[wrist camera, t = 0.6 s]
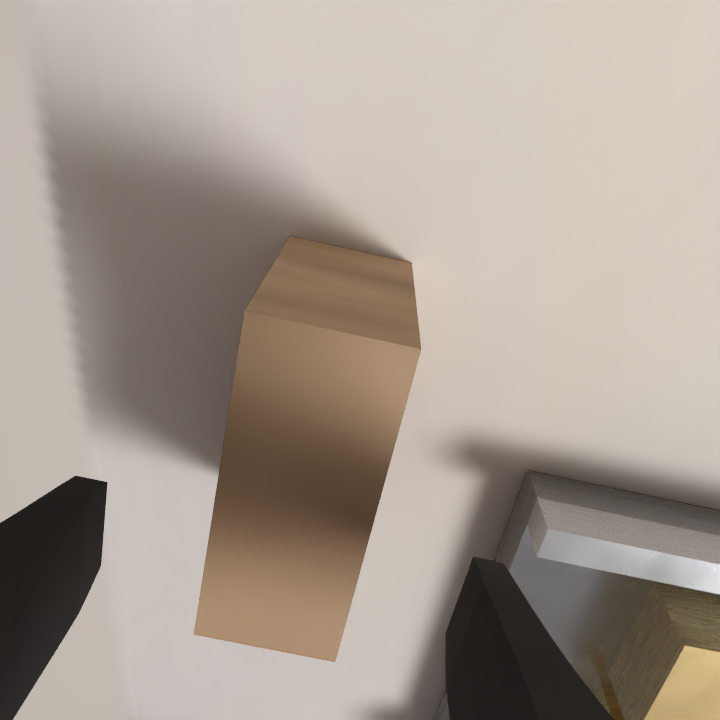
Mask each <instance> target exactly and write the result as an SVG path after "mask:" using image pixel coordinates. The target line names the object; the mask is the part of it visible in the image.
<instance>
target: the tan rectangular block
mask: <svg viewBox="0 0 720 720" xmlns="http://www.w3.org/2000/svg"><path fill="white" fill-rule="evenodd" d="M420 351H421V344H420V335H419V326H418V317H417V307H416V298H415V289H414V280H413V271H412V263H410V262H405V261H401V260H396V259H392V258H387V257H383V256H379V255H374V254H370V253H365V252H361V251H356V250H352V249H347V248H343V247H338V246H334V245H329V244H325V243H320V242H316V241H311V240H307V239H303V238H298V237H294V236H290V237H289V239H288V240H287V242H286V243H285V245H284V247H283V248H282V250H281V252H280V253H279V255H278V257H277V258H276V260H275V261H274V263H273V265H272V266H271V268H270V270H269V271H268V273H267V275H266V276H265V278H264V280H263V281H262V283H261V284H260V286H259V288H258V289H257V291H256V293H255V294H254V296H253V298H252V299H251V301H250V302H249V304H248V306H247V307H246V309H245V311H244V316H243V323H242V329H241V336H240V342H239V348H238V355H237V361H236V368H235V374H234V381H233V387H232V393H231V400H230V406H229V413H228V419H227V425H226V432H225V438H224V445H223V451H222V457H221V464H220V470H219V477H218V483H217V489H216V496H215V502H214V509H213V515H212V521H211V528H210V534H209V541H208V547H207V553H206V560H205V566H204V573H203V579H202V585H201V592H200V598H199V605H198V611H197V617H196V624H195V630H194V635H199V636H204V637H209V638H214V639H219V640H225V641H230V642H235V643H240V644H245V645H250V646H255V647H261V648H266V649H271V650H276V651H281V652H286V653H291V654H296V655H302V656H307V657H312V658H317V659H322V660H327V661H332V662H335V660H336V657H337V653H338V649H339V646H340V642H341V639H342V635H343V631H344V628H345V624H346V620H347V617H348V613H349V609H350V606H351V602H352V599H353V595H354V591H355V588H356V584H357V580H358V577H359V573H360V570H361V566H362V562H363V559H364V555H365V551H366V548H367V544H368V540H369V537H370V533H371V530H372V526H373V522H374V519H375V515H376V511H377V508H378V504H379V500H380V497H381V493H382V490H383V486H384V482H385V479H386V475H387V471H388V468H389V464H390V460H391V457H392V453H393V450H394V446H395V442H396V439H397V435H398V431H399V428H400V424H401V420H402V417H403V413H404V410H405V406H406V402H407V399H408V395H409V391H410V388H411V384H412V380H413V377H414V373H415V370H416V366H417V362H418V359H419V355H420Z"/></svg>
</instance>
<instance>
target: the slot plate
mask: <svg viewBox="0 0 720 720" xmlns="http://www.w3.org/2000/svg"><path fill="white" fill-rule="evenodd" d="M494 561H496V562H501V563H504V565H505V566H506V568H507V569H508V571H509V572H510V574H511V575H512V577H513V579H514V580H515V582H516V583H517V585H518V587H519V588H520V590H521V591H522V593H523V594H524V596H525V598H526V599H527V601H528V602H529V604H530V605H531V607H532V609H533V610H534V612H535V613H536V615H537V616H538V618H539V619H540V621H541V622H542V624H543V625H544V627H545V628H546V630H547V631H548V633H549V634H550V636H551V637H552V639H553V640H554V642H555V643H556V645H557V646H558V647H559V649H560V650H561V652H562V653H563V654H564V656H565V657H566V659H567V660H568V661H569V663H570V664H571V665H572V667H573V668H574V670H575V671H576V672H577V673H578V675H579V676H580V677H581V679H582V680H583V681H584V683H585V684H586V685H587V686H588V688H589V689H590V690H591V692H592V693H593V694H594V696H595V697H596V696H597V694H598V692H599V690H600V688H601V686H604V687H609V688H613V687H612V684H611V681H610V678H609V676H608V672H609V670H610V668H611V666H612V664H613V662H614V660H615V658H616V656H617V654H618V652H619V650H620V648H621V646H622V644H623V642H624V640H625V638H626V636H627V634H628V632H629V630H630V628H631V626H632V624H633V622H634V620H635V618H636V616H637V614H638V612H639V610H640V608H641V606H642V604H643V603H644V601H645V599H646V597H647V595H648V593H649V591H650V589H651V587H652V585H653V583H654V584H659V585H664V586H669V587H674V588H678V589H683V590H688V591H693V592H698V593H703V594H708V595H713V596H718V597H720V511H719V510H714V509H709V508H704V507H700V506H695V505H690V504H685V503H681V502H676V501H671V500H666V499H662V498H657V497H652V496H647V495H643V494H638V493H633V492H628V491H624V490H619V489H614V488H609V487H605V486H600V485H595V484H590V483H586V482H581V481H576V480H571V479H567V478H562V477H557V476H552V475H548V474H543V473H538V472H533V471H529V470H528V472H527V474H526V477H525V480H524V482H523V485H522V488H521V490H520V493H519V496H518V498H517V501H516V504H515V506H514V509H513V512H512V514H511V517H510V520H509V522H508V525H507V528H506V531H505V533H504V536H503V539H502V541H501V544H500V547H499V549H498V552H497V555H496V557H495V560H494ZM435 720H450V717H449V708H448V700H447V691H445V694H444V696H443V699H442V702H441V704H440V707H439V710H438V712H437V715H436V718H435Z"/></svg>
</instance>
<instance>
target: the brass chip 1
mask: <svg viewBox="0 0 720 720" xmlns="http://www.w3.org/2000/svg"><path fill="white" fill-rule="evenodd" d="M596 698H597V699H598V700H599V702H600V703H601V704H602V705H603V707H604V708H605V709H606V710H607V711H608V713H609V714H610V715H611V716H612V717H613V718H614V719H615V720H624V717H623V714H622V712H621V709H620V706H619V703H618V701H617V698H616V695H615V692H614V689H613V688H609V687H604V686H601V688H600V690H599V692H598V694H597V696H596Z"/></svg>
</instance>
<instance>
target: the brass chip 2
mask: <svg viewBox="0 0 720 720" xmlns="http://www.w3.org/2000/svg"><path fill="white" fill-rule="evenodd" d="M608 676H609V678H610V681H611V684H612V687H613V689H614V692H615V695H616V698H617V701H618V703H619V706H620V709H621V712H622V714H623V717H624V720H720V597H718V596H713V595H708V594H703V593H698V592H693V591H688V590H683V589H678V588H674V587H669V586H664V585H659V584H654V583H653V585H652V587H651V589H650V591H649V593H648V595H647V597H646V599H645V601H644V603H643V604H642V606H641V608H640V610H639V612H638V614H637V616H636V618H635V620H634V622H633V624H632V626H631V628H630V630H629V632H628V634H627V636H626V638H625V640H624V642H623V644H622V646H621V648H620V650H619V652H618V654H617V656H616V658H615V660H614V662H613V664H612V666H611V668H610V670H609V672H608Z"/></svg>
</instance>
